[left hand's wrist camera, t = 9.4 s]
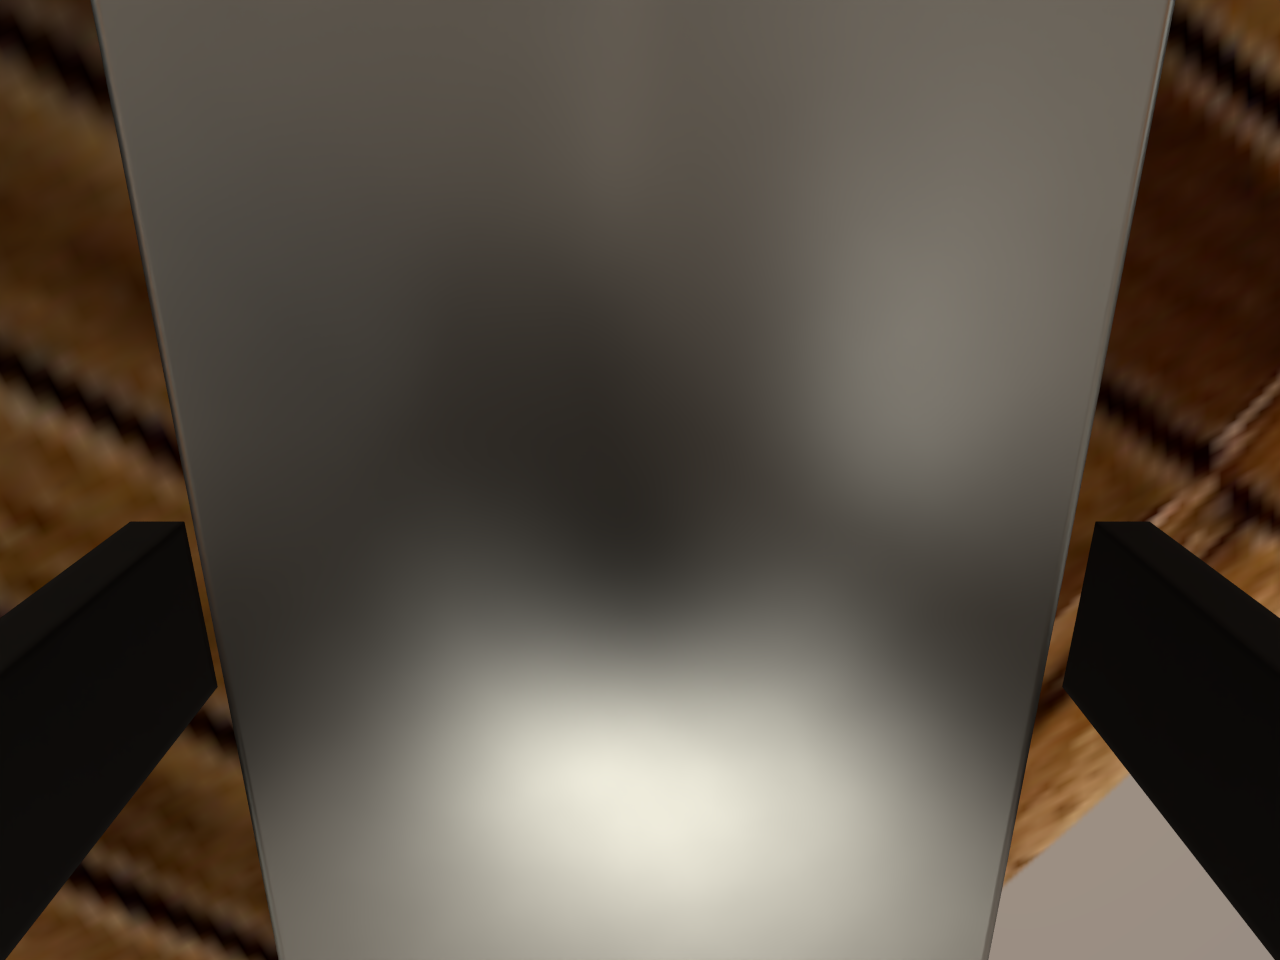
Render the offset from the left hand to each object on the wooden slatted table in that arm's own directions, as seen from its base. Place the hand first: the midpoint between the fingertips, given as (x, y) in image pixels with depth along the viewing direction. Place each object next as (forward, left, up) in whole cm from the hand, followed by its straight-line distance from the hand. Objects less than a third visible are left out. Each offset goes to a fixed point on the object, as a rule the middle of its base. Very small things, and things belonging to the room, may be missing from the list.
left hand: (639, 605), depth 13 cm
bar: (-4, +7, -3) cm, 8 cm away
